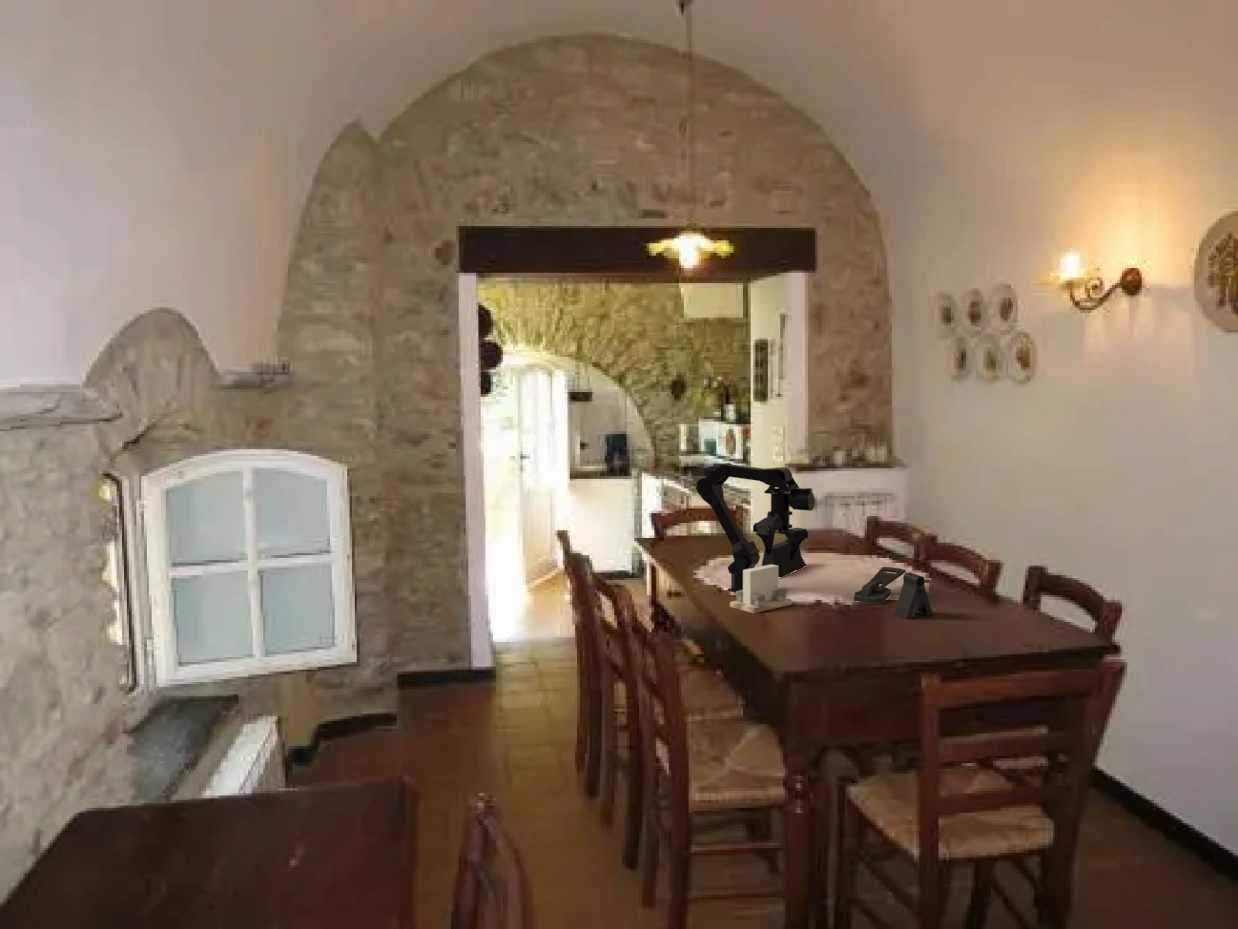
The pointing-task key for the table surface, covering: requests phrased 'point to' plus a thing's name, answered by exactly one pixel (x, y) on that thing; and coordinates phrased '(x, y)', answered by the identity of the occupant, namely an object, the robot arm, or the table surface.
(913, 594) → the black pivot stand
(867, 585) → the zipper pull
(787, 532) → the robot arm
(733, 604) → the hinge clip plate
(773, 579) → the cabinet door panel
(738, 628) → the table surface
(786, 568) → the barrier
